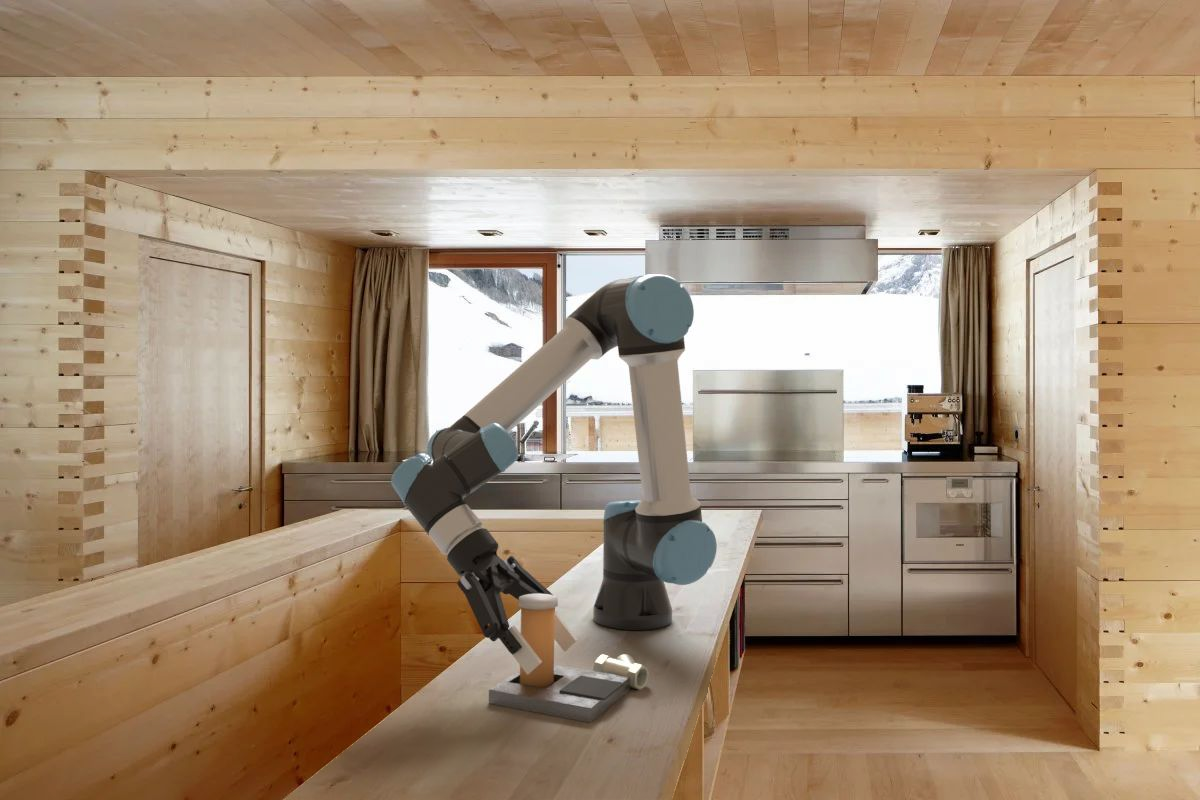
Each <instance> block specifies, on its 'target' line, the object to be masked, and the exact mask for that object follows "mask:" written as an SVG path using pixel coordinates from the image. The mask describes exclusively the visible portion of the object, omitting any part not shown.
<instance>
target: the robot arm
mask: <svg viewBox="0 0 1200 800" xmlns="http://www.w3.org/2000/svg"><path fill="white" fill-rule="evenodd" d="M694 309H695V308H694V304H693V300H692V298H691V295H690V294H689V292H688V289H686V287H685V286H684V285H683V284H681V282H679V281H678V279H676V278H673V277H671V276H670V275H665V274H654V273H653V274H652V273H651V274H650V273H647V274H643V275H639V276H634V277H629V278H621V279H617V280H613V281H611V282H609V283H607V284H605V285H603V286H602V287H600V288H599V289H598V290H596V292H594V293H593V294H592V295H590V297H589V298H587V299H586V300H585V301H584V302H582V303H581V304H580V305H579V306H578V307H577V308H576V309H575V310H574V311H573V312H572V313H570V314H569V315H568V316H566V318H564V320H563V328H562V329H561V330H559V332H557V333H556V334H555V335H553V337H552V338H551V339H549V340H548V341H547V342H546V343H545V344H544V345H542V346H541V347H540V348H539V349H538V350H537V351H535V352H534V353H533V354H532V355H530V357H529V358H527V360H525V361H524V362H523V363H522V364H521V365H519V367H517V368H516V369H515V370H514V371H512V373H510V374H509V375H508V376H507V377H505V379H503V380H502V381H501V382H500V383H499V384H498V385H497V386H495V387H494V388H493V389H492V390H491V391H489V392H488V394H486V395H485V396H484V397H483V398H482V399H481V400H479V402H477V403H476V404H475V405H474V406H472V407H471V408H470V409H469V410H468V411H467V412H466V413H464V415H462V416H461V417H460V418H459V419H457V421H455V422H454V423H453V424H452V425H451V426H449V427H445V428H442V429H441V428H440V429H438V430H437V431H436V432H435V433H433V434H431V435H432V436H431V437H430V438H429V440H428V443H427V445H426V446H427V447H426V448H427V449H426V450H427V453H424V452H421V453H418V454H415V456H411V457H409V458H407V459H406V460H405V461H403V462H402V463H401V464H400V465H398V467H397V468H396V469H395V470H394V471H393V473H392V476H391V478H390V479H391V481H390V485H391V486H392V488H393V489H394V491H395V492H396V494H397V496H398V497H399V499H400V500H401V501H402V503H403V506H405V507H406V509H407V510H408V511H409V513H410V514H411V515H412V516H413V517H414V519H415V520H416V522H418V523H419V525H420V526H421V528H422V529H423V530H424V532H425V533H426V535H428V536H429V538H430V539H431V540H432V541H433V543H434V544H435V546H436V547H437V548H438V549H439V551H440V552H441V554H442V555H444V556H447V557H446V558H447V559H446V561H447V562H448V563H449V565H450V566H451V567H452V569H453V570H454V572H455V573H456V574H457V575H458V576H460V577H461V578H459V579H458V581H457V582H456V584H457V585H458V587H459V589H460V590H461V591H462V592H463V594H464V595H465V598H466V601H467V602H468V604H469V606H470V609H471V611H472V613H473V615H474V617H475V620H476V621H477V623H478V626H479V628H480V631H481V632H482V634H483V636H484V637H485V638H487V639H489V640H490V641H492V642H496V641H497V640H498V639H499V641H500V642H501V643H502V644H503V646H505V649H507V651H508V652H509V653H510V654H511V655H512V657H513V658H514V659H515V661H516V662H517V663H518V664H519V667H520V666H521V667H522V668H523V670H524V671H525V672H526V674H527V675H528V674H530V673H531V672H532V671H533V670H534V669H535V668H536V667H538V666H539V665H540V664H541V663H542V661H541V660H540V658H539V657H538V656H537V654H536V653H535V652H534V651H533V649H532V648H531V647H530V645H529V644H528V643H527V641H526V640H525V639H524V638H523V636H522V635H521V631H519V630H518V628H517V627H516V626H515V625H512V626H511V627H510V623H509V620H508V617H507V614H506V609H505V606H504V603H503V599H502V594H504V595H511V597H514V598H515V599H516V600H518V601H519V597H520V596H522V595H526V594H550V595H554V594H553V593H551V592H550V590H548V589H547V588H546V587H545V586H544V585H543V584H542V583H540V582H539V581H538V580H537V579H536V578H535V577H534V576H533V575H532V574H531V573H530V572H528V571H527V570H526V569H525V568H524V567H523V566H521V564H520V563H519V561H518V560H517V559H516V557H515V556H513V555H510V556H509V557H507V559H506V560H503V559H502V558H501V557H500V556H498V553H497V552H498V550H499V543H498V542H497V540H496V539H495V538H494V537H493V535H492V534H491V533H490V531H488V529H487V528H483V525H484V523H483V522H482V521H481V520H480V518H479V517H478V516H477V515H476V513H475V512H474V511H473V510H472V509H471V508H470V506H469V505H468V504H467V502H466V501H465V500H464V498H466V497H468V496H469V495H471V494H472V493H473V492H476V490H478V489H479V488H481V487H482V486H484V485H486V484H487V483H488V482H490V481H491V480H492V479H494V478H496V477H497V476H498V475H500V474H501V473H504V472H506V470H507V469H508V468H509V467H511V466H512V465H513V464H514V463H516V462H517V460H518V459H519V450H518V447H517V445H516V442H515V441H514V439H513V437H512V436H511V434H510V432H511V431H512V430H513V429H514V428H515V427H517V426H518V425H519V424H520V423H522V422H523V420H525V418H527V417H528V416H529V415H530V414H531V413H532V412H534V411H535V410H536V409H537V408H538V407H539V406H540V405H541V404H543V402H545V401H546V400H547V399H548V398H549V397H550V396H551V395H552V394H554V392H556V391H557V390H558V389H559V388H561V386H562V385H563V384H565V383H566V382H567V381H568V380H569V379H570V378H572V376H574V375H575V374H576V373H577V372H578V371H580V370H581V369H582V368H583V367H584V366H585V365H586V364H587V363H588V362H589V361H591V360H600V359H601V358H603V356H604V355H605V354H606V353H608V352H609V351H610V350H612V349H615V348H617V349H618V351H617V352H618V357H619V358H620V360H622V361H623V362H624V363H626V365H627V366H628V373H629V382H630V392H631V400H632V411H633V420H634V429H635V439H636V448H637V456H638V466H639V477H640V484H641V485H640V486H641V495H642V499H637V500H635V499H634V500H618V501H610V502H609V503H606V505H605V507H604V511H603V512H604V514H603V519H602V520H603V521H602V523H603V550H602V552H603V553H602V554H603V559H602V560H603V561H602V563H603V565H602V567H603V568H602V569H603V571H602V581H601V584H600V587H599V589H598V592H597V597H595V598H596V599H595V602H594V605H593V607H592V608H593V616H592V618H593V619H592V620H593V621H594V622H595V623H596V624H598V625H600V626H603V627H607V628H610V629H616V630H625V631H626V630H627V631H645V630H646V631H647V630H655V629H656V630H657V629H659V628H664V627H666V626H668V625H670V624H671V623H672V621H673V607H672V605H671V601H670V597H669V595H668V590H667V587H666V584H665V583H667V584H674V585H677V586H678V585H679V586H686V585H690V584H694V583H695V582H697V581H699V580H700V579H702V578H703V577H704V576H705V575H706V574H707V572H708V570H709V569H710V568H711V567H712V566H713V564H714V562H715V559H716V556H717V545H718V544H717V538H716V534H715V533H714V532H713V530H712V528H710V527H709V525H708V524H707V523H706V522H703V515H702V506H701V501H699V500H698V499H697V498H696V497H694V496H693V495H692V492H691V484H690V483H691V482H690V474H689V473H690V470H689V465H688V464H689V462H688V453H687V452H688V451H687V443H686V442H687V441H686V434H685V425H684V423H685V422H684V413H683V404H682V401H683V400H682V392H681V383H680V374H679V364H678V363H679V359H680V357H681V356H682V354H683V353H684V352H685V351H686V346H685V345H686V344H685V336H686V335H687V334H688V332H689V329H690V327H692V325H693V323H694V316H695V314H694V313H695V310H694ZM501 593H502V594H501ZM554 641H555V642H556V643H557V644H558V645H559V647H560V648H561V649H562V651H563V652H564V653H565V652H567V651H568V650H569V649H570V648H571V647H572V646H574V645H575V643H577V642H578V641H579V639H578V638H577V636H576V635H575V634H574V632H572V630H571V628H570V627H568V625H567V624H566V623H565V621H564V620H563V619H562V618H561V616H560V615H559V614H558V612H557V611H556V610H555V634H554Z"/></svg>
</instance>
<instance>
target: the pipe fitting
mask: <svg viewBox="0 0 1200 800" xmlns="http://www.w3.org/2000/svg"><path fill="white" fill-rule="evenodd" d="M593 671H596V672H602V673H608V674H614V675H620V676H626V677H630V683H629V685H630V688H632V689H635V690H639V691H641V690H643V689H644V688H645V687H646V686H647V684H648V681H649V674H650V673H649V669H648V667H647V666H645V665H643V664H641V663H636V661H635V660H634V658H633V657H632V656H631V655H629V654H627V653H626V654H625V653H623V654H620V655H618V656H617V657H616V658H612V657H611V656H610V655H606V654H604V653H601V655H599V656H598V657H597V658H596V659H595V661H594V664H593Z"/></svg>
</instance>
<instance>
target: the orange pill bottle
mask: <svg viewBox="0 0 1200 800" xmlns="http://www.w3.org/2000/svg"><path fill="white" fill-rule="evenodd" d="M517 602H518V606H519V608H520V634H521V635H522V636H523V638H524V639H525V640H526V641H527V643H528V644H529V645H530V647H531V648H532V649H533V651H534V652H535V653H536V654H537V656H538V657H539V658H540V660H541V661H542V663H541V664H540V665H539V666H538V667H536V668H535V669H534V670H533V671H532V672H531V673H530V674H528V675H527V674H526V672H525V671H524V670H523V668H522V667H521V666H520V665H519V671H520V684H522V685H527V686H533V687H538V688H544V689H546V688H548V687H549V686H551V685H552V684H554V665H555V639H554V634H555V611H556V608H557V607H558V605H559V598H558V596H556V595H554V594H553V595H550V594H526V595H522V596H520V597H519V600H518V601H517Z"/></svg>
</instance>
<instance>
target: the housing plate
mask: <svg viewBox="0 0 1200 800" xmlns="http://www.w3.org/2000/svg"><path fill="white" fill-rule="evenodd" d="M580 675H581V676H586V677H592V678H598V679H604V680H610V681H616V682H622V683H624V685H623V686H622V687H621V688H619V689H618V690H617V691H616V692H614V693H613V694H612V695H611V696H609V697H608V698H607V699H606V700H600V699H594V698H589V697H583V696H577V695H572V694H566V693H560V692H559V691H560V690H561V689H562V688H563V687H565V686H566V685H568V684H569V683H571V682H572V681H573V680H575V679H576V678H578V677H579V676H580ZM629 683H630V677H626V676H620V675H614V674H608V673H602V672H596V671H594V670H589V669H582V668H577V667H570V666H564V665H559V664H554V684H552V685H551V686H549V687H548V688H546V689H544V688H538V687H533V686H527V685H522V684H520V670H519V671H517V672H515V673H514V674H511V675H510V676H509V677H507V678H506V679H504V680H502V681H501V682H499V683H498V684H496V685H494V686H492V687H490V688H489V689H488V704H491V705H496V706H501V707H506V708H511V709H517V710H521V711H528V712H533V713H539V714H544V715H549V716H554V717H559V718H565V719H568V720H569V719H571V720H575V721H580V722H585V723H593V721H594V720H596V719H597V718H598V717H599V716H601V714H603V713H604V712H605V711H606V710H608V709H609V708H610V707H611V706H613V705H614V704H615V703H616V702H617V701H619V700H620V699H621V698H622V697H624V696H625V695H626V694H627V693H628V692H629V691H630V688H631V687H630V685H629Z"/></svg>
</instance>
